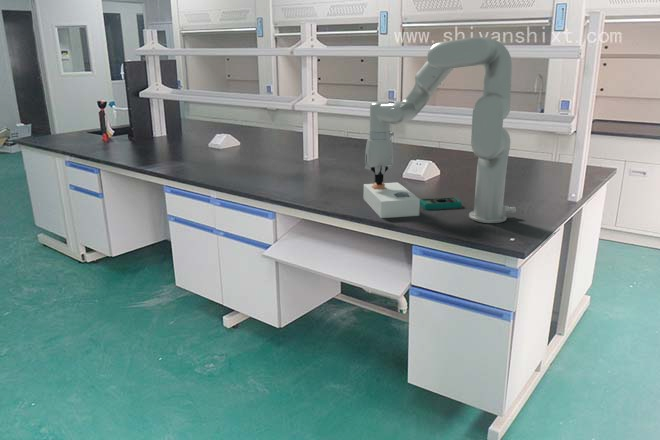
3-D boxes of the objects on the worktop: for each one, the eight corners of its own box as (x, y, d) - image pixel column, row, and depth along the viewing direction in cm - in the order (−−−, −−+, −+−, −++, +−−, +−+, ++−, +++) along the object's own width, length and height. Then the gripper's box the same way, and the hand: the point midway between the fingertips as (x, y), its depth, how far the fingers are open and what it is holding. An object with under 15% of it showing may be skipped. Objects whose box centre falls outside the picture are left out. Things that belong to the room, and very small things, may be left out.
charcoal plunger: (405, 206, 195) (405, 191, 193) (409, 209, 190) (409, 194, 189) (393, 207, 194) (394, 192, 192) (397, 210, 190) (397, 195, 188)
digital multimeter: (463, 209, 196) (463, 201, 195) (424, 211, 194) (424, 203, 193) (455, 203, 203) (456, 196, 202) (418, 205, 201) (418, 198, 200)
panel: (397, 196, 211) (397, 182, 210) (419, 215, 187) (419, 199, 185) (363, 199, 209) (363, 184, 207) (380, 218, 185) (381, 201, 183)
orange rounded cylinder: (382, 196, 206) (383, 182, 204) (385, 199, 202) (386, 185, 200) (371, 196, 205) (372, 183, 203) (374, 199, 201) (374, 185, 199)
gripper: (396, 133, 201) (394, 180, 206) (357, 135, 198) (357, 182, 204) (402, 136, 194) (400, 185, 199) (362, 138, 191) (362, 187, 197)
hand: (378, 183), depth 202 cm, fingers closed
